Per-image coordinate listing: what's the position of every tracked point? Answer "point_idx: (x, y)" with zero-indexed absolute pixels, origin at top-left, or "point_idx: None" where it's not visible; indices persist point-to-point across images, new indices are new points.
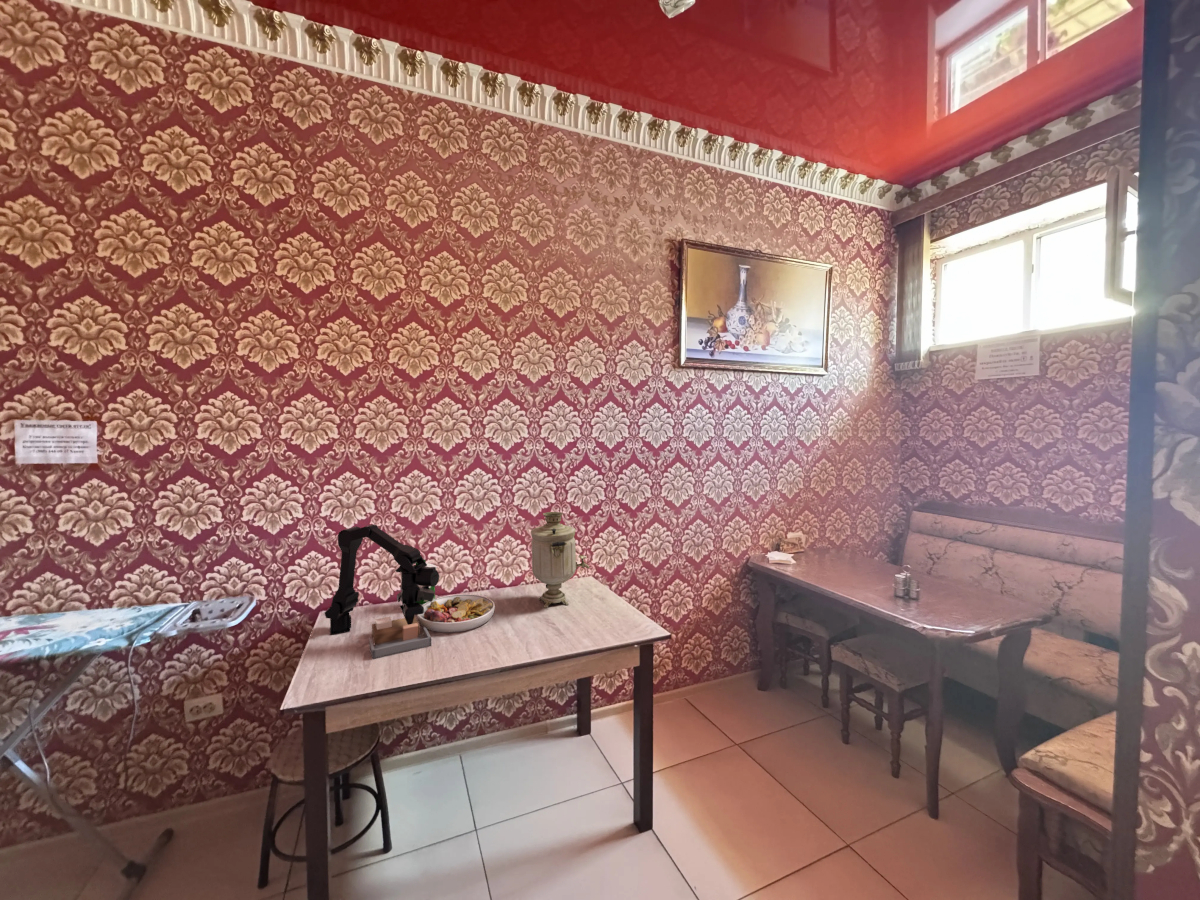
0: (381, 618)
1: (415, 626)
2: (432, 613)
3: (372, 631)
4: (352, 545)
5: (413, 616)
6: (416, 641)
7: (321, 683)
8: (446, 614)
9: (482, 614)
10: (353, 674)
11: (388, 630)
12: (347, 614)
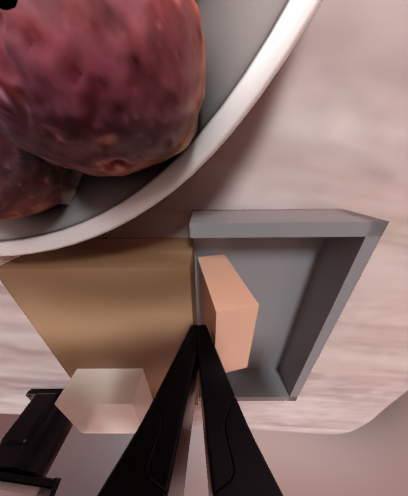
0: (75, 422)
1: (255, 319)
2: (60, 136)
3: None
4: None
5: (246, 426)
6: (346, 295)
7: (313, 418)
8: None
9: None
10: (326, 392)
11: None
12: (17, 468)
